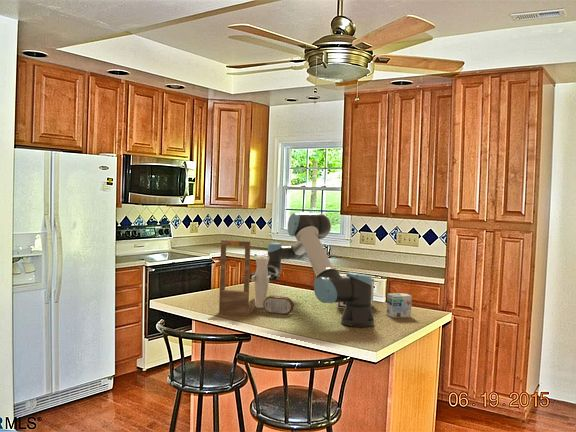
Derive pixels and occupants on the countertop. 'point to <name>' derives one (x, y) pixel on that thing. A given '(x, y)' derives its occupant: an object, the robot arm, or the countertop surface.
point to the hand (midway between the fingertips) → (259, 279)
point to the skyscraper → (261, 280)
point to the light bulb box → (399, 305)
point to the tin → (278, 305)
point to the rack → (235, 299)
